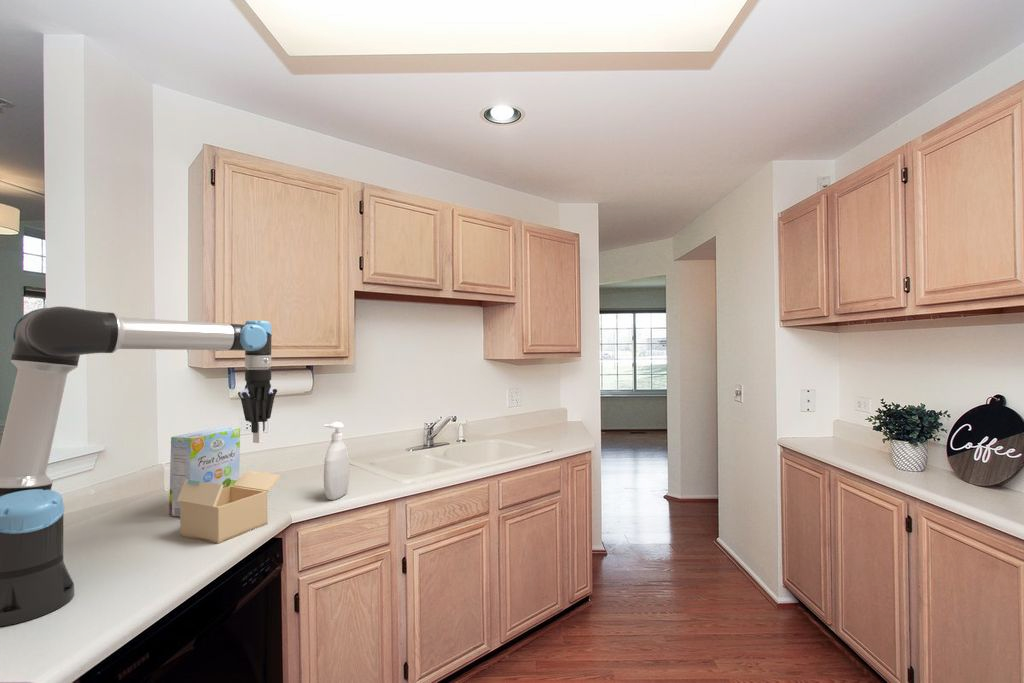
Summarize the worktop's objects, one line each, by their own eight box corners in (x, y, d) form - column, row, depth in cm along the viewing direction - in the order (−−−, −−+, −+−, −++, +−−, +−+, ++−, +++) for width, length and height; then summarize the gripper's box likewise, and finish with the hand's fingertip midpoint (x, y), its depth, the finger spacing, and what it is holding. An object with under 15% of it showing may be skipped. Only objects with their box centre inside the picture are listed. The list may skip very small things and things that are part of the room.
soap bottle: (335, 489, 185) (335, 418, 185) (355, 490, 183) (355, 418, 183) (313, 502, 170) (313, 424, 170) (335, 503, 169) (334, 425, 169)
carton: (218, 543, 135) (218, 507, 135) (180, 535, 141) (180, 500, 142) (267, 523, 150) (267, 491, 150) (231, 517, 156) (230, 485, 156)
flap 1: (215, 507, 135) (212, 506, 134) (179, 500, 141) (176, 500, 140) (223, 484, 137) (220, 484, 137) (188, 479, 143) (185, 478, 142)
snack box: (190, 518, 155) (190, 437, 155) (167, 517, 157) (167, 436, 157) (241, 497, 176) (241, 426, 176) (220, 496, 178) (220, 425, 178)
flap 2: (280, 474, 155) (281, 477, 156) (246, 470, 161) (248, 472, 162) (267, 490, 151) (269, 492, 151) (233, 485, 157) (234, 487, 157)
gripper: (248, 369, 149) (248, 447, 149) (283, 368, 161) (283, 439, 161) (231, 369, 152) (231, 445, 152) (266, 367, 164) (266, 438, 164)
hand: (258, 442), depth 156 cm, fingers closed
